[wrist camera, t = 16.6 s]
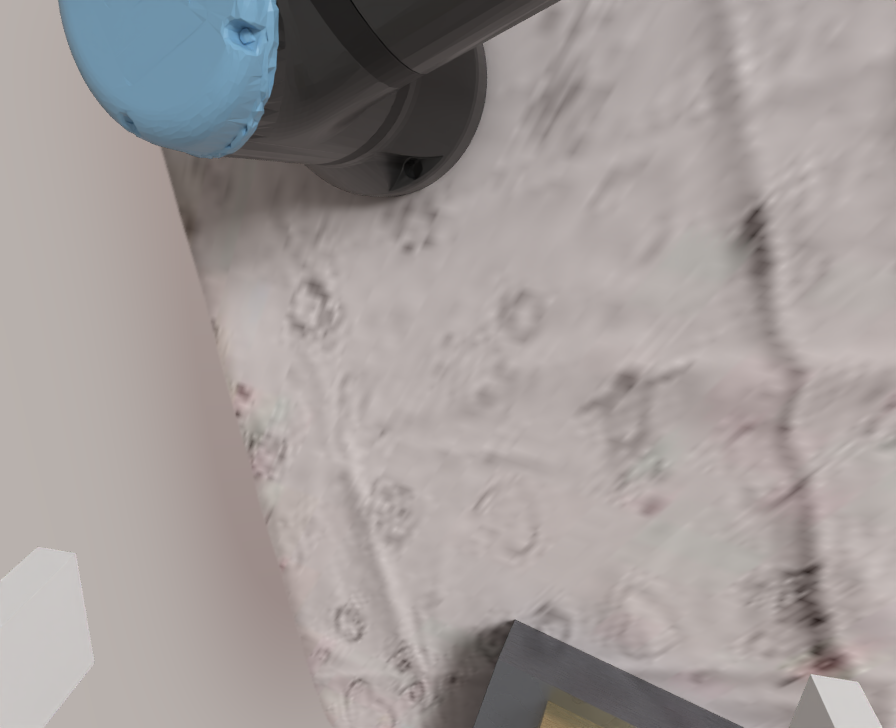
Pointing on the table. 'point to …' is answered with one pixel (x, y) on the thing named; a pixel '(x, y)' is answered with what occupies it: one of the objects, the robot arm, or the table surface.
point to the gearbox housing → (576, 691)
